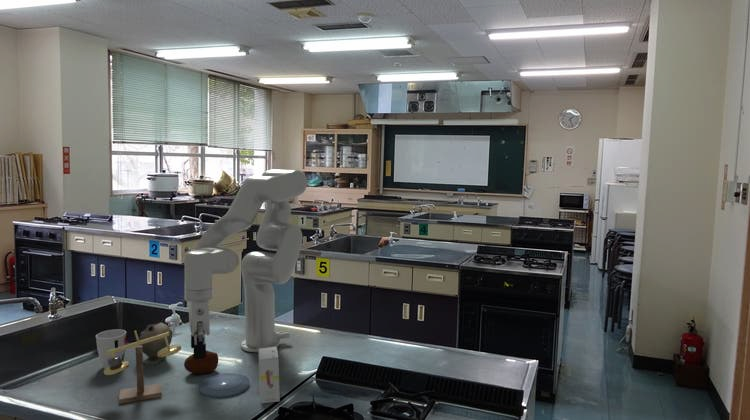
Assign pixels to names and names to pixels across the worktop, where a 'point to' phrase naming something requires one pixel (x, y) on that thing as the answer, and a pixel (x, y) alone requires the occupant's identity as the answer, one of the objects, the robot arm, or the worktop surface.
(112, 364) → the balance beam
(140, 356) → the balance stand
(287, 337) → the robot arm
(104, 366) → the cup
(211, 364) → the potato
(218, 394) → the plate
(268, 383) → the ink box
